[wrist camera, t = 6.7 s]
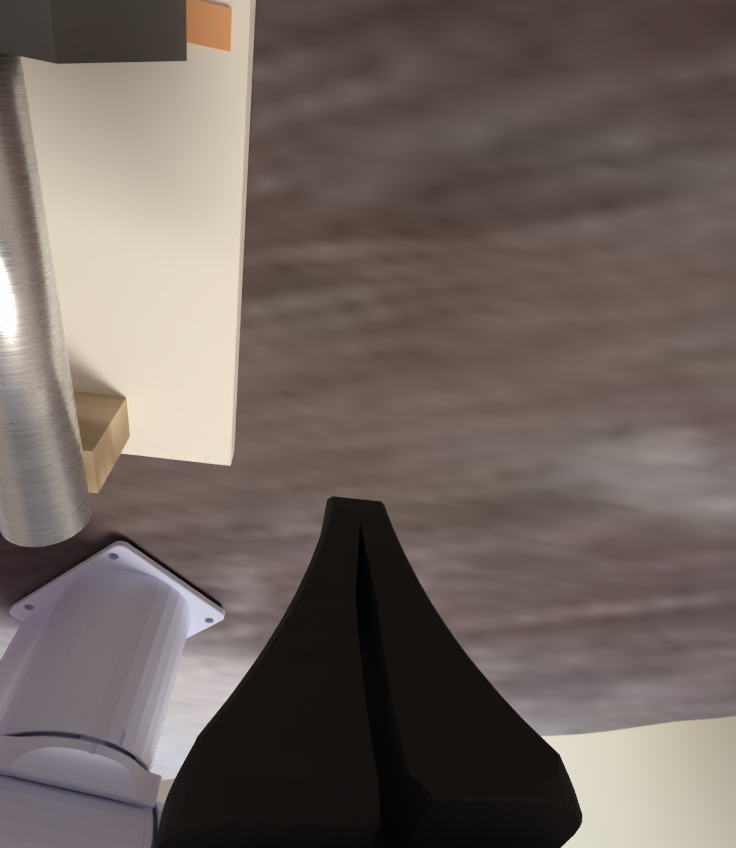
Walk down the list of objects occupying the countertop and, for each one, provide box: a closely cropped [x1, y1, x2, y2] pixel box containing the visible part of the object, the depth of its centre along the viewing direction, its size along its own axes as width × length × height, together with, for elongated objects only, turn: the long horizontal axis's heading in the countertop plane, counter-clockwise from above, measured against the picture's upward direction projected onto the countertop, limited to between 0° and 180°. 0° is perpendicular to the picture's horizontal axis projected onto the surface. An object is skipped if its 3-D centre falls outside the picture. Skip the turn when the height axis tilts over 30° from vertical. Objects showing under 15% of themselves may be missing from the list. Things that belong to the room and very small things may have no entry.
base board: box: [21, 0, 256, 466], centre depth 17 cm, size 22×11×1 cm, turn 170°
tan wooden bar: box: [73, 391, 130, 493], centre depth 16 cm, size 20×2×4 cm, turn 170°
